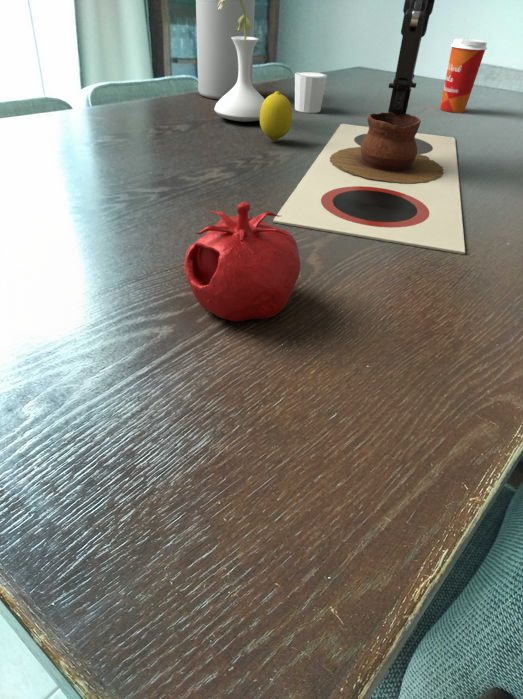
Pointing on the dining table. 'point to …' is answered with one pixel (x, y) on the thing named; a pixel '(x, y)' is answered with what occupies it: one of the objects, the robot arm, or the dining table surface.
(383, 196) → the front burner
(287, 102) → the lemon
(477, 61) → the paper cup
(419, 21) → the robot arm
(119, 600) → the dining table surface
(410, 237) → the cooktop
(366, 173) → the ceramic pot
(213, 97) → the cylinder vase
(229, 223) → the red tomato
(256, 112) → the flower in vase
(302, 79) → the shot glass
